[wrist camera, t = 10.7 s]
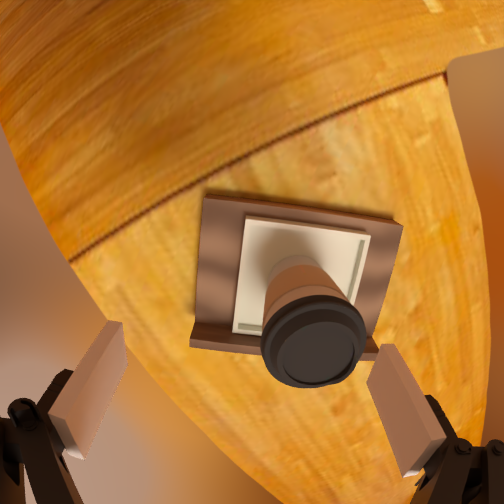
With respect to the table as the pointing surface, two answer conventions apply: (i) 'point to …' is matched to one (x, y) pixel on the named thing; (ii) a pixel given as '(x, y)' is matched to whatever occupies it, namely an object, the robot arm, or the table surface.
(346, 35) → the table surface
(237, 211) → the shelf
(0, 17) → the table surface
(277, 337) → the coffee cup
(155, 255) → the table surface
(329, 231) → the tray
